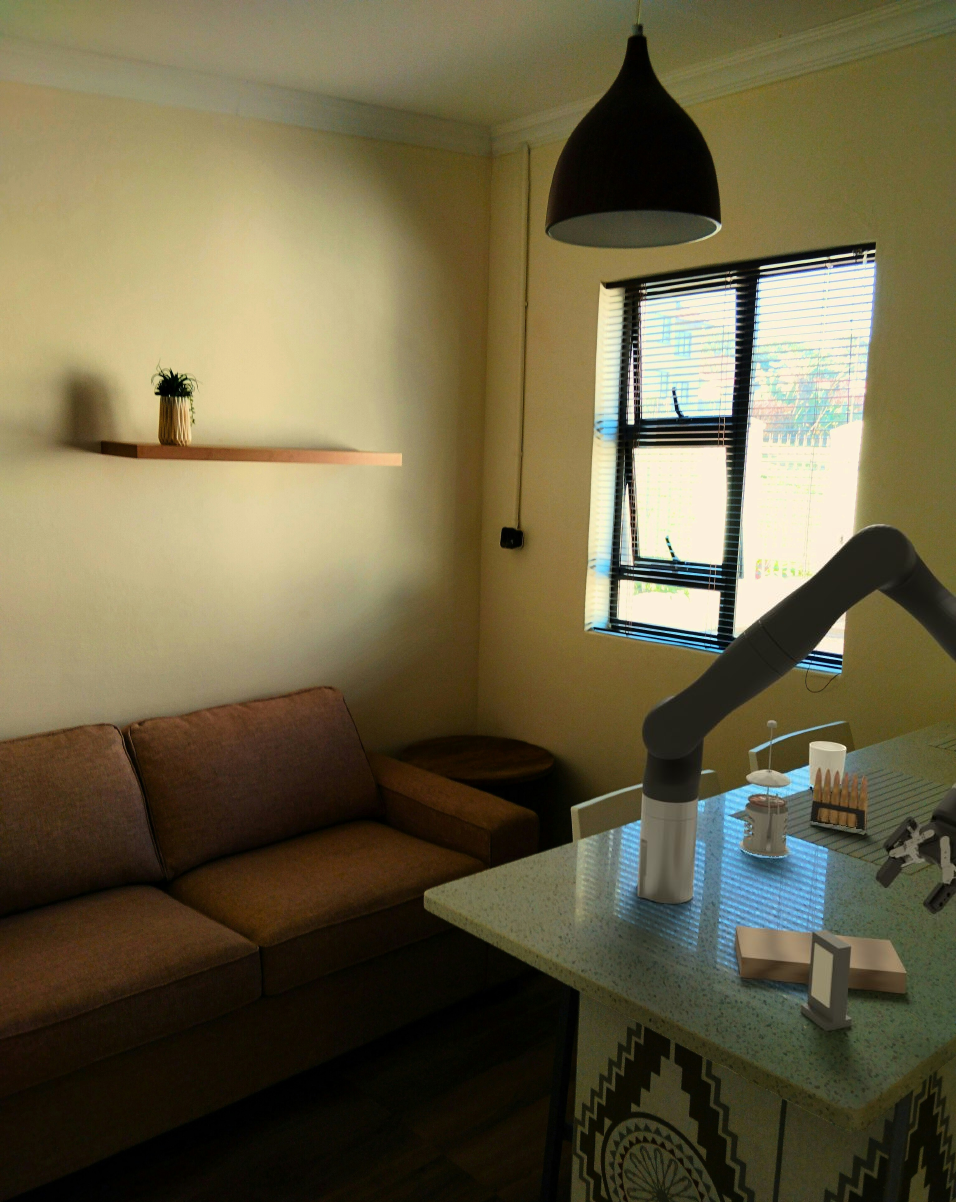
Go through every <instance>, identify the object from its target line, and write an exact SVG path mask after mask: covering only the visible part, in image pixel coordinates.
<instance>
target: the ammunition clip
mask: <svg viewBox="0 0 956 1202" xmlns="http://www.w3.org/2000/svg"><path fill="white" fill-rule="evenodd" d="M867 778H868V777H867V776H866V774H864V775H863V776H862V779H861V784H860V789H859V780H858V779H859V777H858V774H857V773H854V774H853V776H852V780H851V787H850V777H849V774H848V772H847V771H845V772H844V774H843V778H842V784H841V790H840V775H839V771H838V770H837V771H836V773H835V777H834V784H833V789H832V793H831V774H830V770H829V769H828V770H827V772H826V775H825V781H824V787H823V792H822V773H821V769H820V767H819V768H818V770H817V773H816V780H815V785H814V790H813V793H812V801H811V802H812V803H811V811H810V819H809V822H810V821H813V822H818V823H825V824H833V825H841V826H846V825H847V826H846V827H850V828H854V827H856V829H862V830H865V827H866V828H867V825H868V823H867V821H868V820H867V817H868V815H867V814H868V779H867ZM849 790H850V791H849ZM859 790H860V791H859ZM856 825H857V826H856Z"/></svg>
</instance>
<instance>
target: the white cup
mask: <svg viewBox="0 0 956 1202" xmlns="http://www.w3.org/2000/svg"><path fill="white" fill-rule="evenodd" d="M846 755H847V747H846V746H845V745H843V744H841V743H838V742H832V741H821V740H820V741H812V742H809V761H808V765H809V767H808V772H809V774H808V775H809V785H810V784H811V785H813V786H814V785H815V780H816V773H817V770H818V768H819V767H820V769H821V773H822V787H824V781H825V775H826V772H827V770H828V769H829V770H830V774H831V787H833V784H834V777H835V773H836V771H837V770H838V771H839V775H840V784H841V785H842V783H843V778H844V773H845V772H844V770H845V763H846Z"/></svg>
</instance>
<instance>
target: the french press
mask: <svg viewBox="0 0 956 1202" xmlns="http://www.w3.org/2000/svg"><path fill="white" fill-rule="evenodd" d="M766 728H770V740H769V741H770V743H769V759H768V769H760V770H754V771H752V772H751V773H749V774H747V775H746V777H745V778H746V781H747V782H748V783H750V784H752V785H754V786H758V787H762V788H767V790H766V791H767V792H766V793H754V794H751V795H749V796H747V800H748V801H749V802H747V803H746V804H745V808H744V823H743V824H744V826H743V827H745V828H747V829H745V828H743V833H744V834H746V835H743V838H742V839H743V840H741V841H740V842H739V843H740V847H741V848H742V849H743V850H745V851H747V852H749V853H752V854H757V855H762V856H769V857H771V856H772V857H775V856H776V857H779V856H784V855H787V854H789V853H790V852H789V849H790V848H789V847H788V846H787V836H788V835H787V834H788V833H787V831H788V822H789V821H788V816H789V808H788V807H787V806H786V805H787V804H788V801H787V800H786V799H785V798H784V797H781V796H779V794H778V793H775V795H774V794H769V790H770V789H776V788H778V789H780V788H785V787H787V786H789V785H790V784H791V783H792V780H791V779H790V778H789V777H787V776H786V775H785V774H783V773H781V772H779V771H776V770H773V769H771V758H772V757H771V756H772V744H773V743H772V742H773V741H772V739H773V729H775V728H778V723H777V721H775V720H773V719H772V720H768V721H767V723H766ZM769 788H770V789H769ZM745 814H746V815H748V816H746V815H745ZM745 821H747V822H748V823H747V822H745Z"/></svg>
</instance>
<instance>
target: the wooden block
mask: <svg viewBox="0 0 956 1202" xmlns="http://www.w3.org/2000/svg"><path fill="white" fill-rule="evenodd" d="M833 935H834V936H836V937H837V938H839V939H841V940H842V941H844V942H845V943H847V944H848V945H850V946H851V957H850V970H849V983H848V989H855V990H865V991H875V992H886V993H896V994H906V990H907V989H906V987H907V977H908V972H907V971H906V969H905V966H904V964H903V962H902V961H901V959H900V957H899V955H898V953H897V951H896V949H895V947H894V946H893V944H892V942H891V940H890V939H880V938H871V937H870V938H869V937H860V936H859V937H858V936H846V935H838V934H837V935H836V934H833ZM811 946H812V932H808V931H807V932H805V931H793V930H785V929H783V930H782V929H775V928H761V927H750V926H742V925H741V926H740V925H736V926H735V935H734V947H735V953H736V958H737V959H736V960H737V965H738V970H739V974H740V977H741V978H746V979H747V978H748V979H755V980H756V979H757V980H764V981H777V982H785V983H786V982H787V983H795V984H796V983H797V984H807V985H809V974H810V960H811Z"/></svg>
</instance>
